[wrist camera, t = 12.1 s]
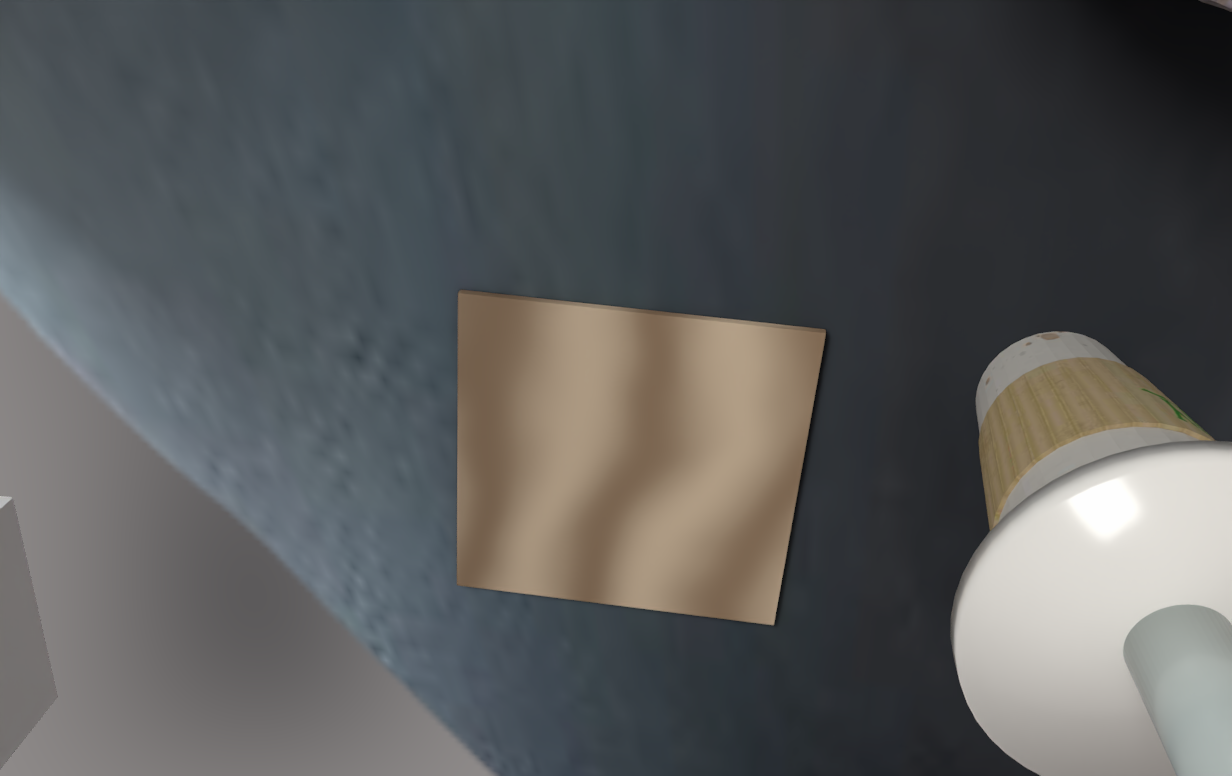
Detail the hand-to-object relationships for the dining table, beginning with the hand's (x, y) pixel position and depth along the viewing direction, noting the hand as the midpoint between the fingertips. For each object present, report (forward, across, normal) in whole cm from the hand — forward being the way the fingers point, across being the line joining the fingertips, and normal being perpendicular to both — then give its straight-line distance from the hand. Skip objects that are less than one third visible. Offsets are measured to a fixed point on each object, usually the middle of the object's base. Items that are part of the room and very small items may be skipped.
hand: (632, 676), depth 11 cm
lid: (+20, +16, -13) cm, 29 cm away
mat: (+35, -2, -19) cm, 40 cm away
